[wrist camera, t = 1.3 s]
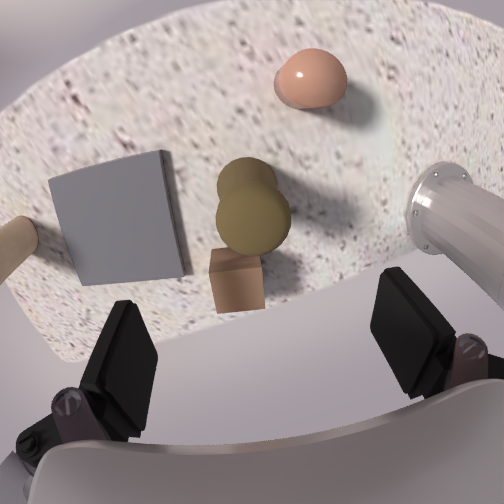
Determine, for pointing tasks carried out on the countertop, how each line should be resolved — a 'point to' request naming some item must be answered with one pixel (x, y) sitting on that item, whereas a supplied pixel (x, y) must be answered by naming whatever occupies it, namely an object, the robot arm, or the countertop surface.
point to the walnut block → (236, 281)
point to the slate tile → (118, 221)
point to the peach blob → (311, 80)
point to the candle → (16, 244)
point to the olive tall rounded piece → (251, 208)
